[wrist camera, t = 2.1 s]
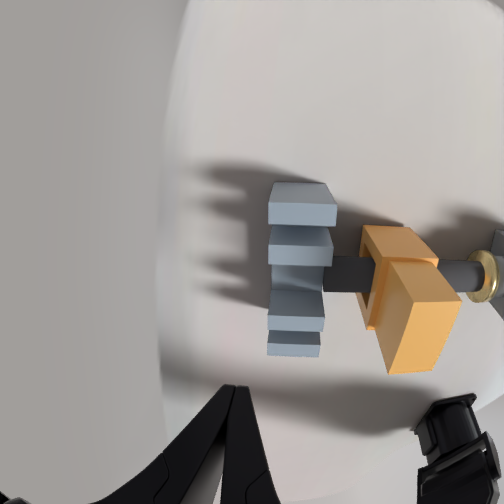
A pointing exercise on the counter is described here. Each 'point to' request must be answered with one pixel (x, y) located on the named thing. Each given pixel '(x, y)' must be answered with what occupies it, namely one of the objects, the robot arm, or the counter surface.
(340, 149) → the counter surface
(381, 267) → the sleeve
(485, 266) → the band
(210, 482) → the robot arm
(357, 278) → the black rod
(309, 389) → the counter surface
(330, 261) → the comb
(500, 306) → the connector
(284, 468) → the counter surface
